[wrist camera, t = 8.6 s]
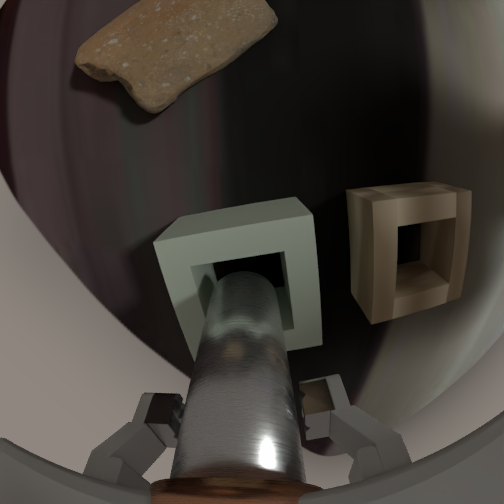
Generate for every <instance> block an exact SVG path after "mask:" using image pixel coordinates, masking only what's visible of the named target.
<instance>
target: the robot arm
mask: <svg viewBox="0 0 504 504" xmlns="http://www.w3.org/2000/svg"><path fill="white" fill-rule="evenodd" d="M299 391H300V402H301V410H302V416H303V418H304V428H305V433H306V439H307V440H310V439H316V438H322V437H328V436H329V437H330V438H331V439H332V440H333V441H334V442H335V443H336V444H337V445H338V446H339V447H341V448H342V449H343V450H344V451H345V452H346V453H347V454H348V455H350V456H351V457H352V458H353V459H354V462H353V465H352V468H351V470H350V473H349V481H350V484H347V485H343V486H338V487H334V488H330V489H325V490H319V491H314V492H308V493H305V494H303V495H302V496H301V497H300V499H299V501H298V504H504V411H503V412H501V413H500V414H499V415H497V416H496V417H494V418H493V419H492V420H490V421H489V422H487V423H486V424H484V425H483V426H481V427H479V428H478V429H476V430H475V431H473V432H472V433H470V434H468V435H467V436H465V437H463V438H461V439H460V440H458V441H456V442H454V443H453V444H451V445H449V446H447V447H445V448H443V449H441V450H439V451H437V452H435V453H433V454H431V455H429V456H426V457H424V458H422V459H420V460H418V461H415V462H413V463H412V462H411V459H410V457H409V454H408V451H407V449H406V446H405V444H404V442H403V439H402V437H401V435H400V434H399V433H397V432H395V431H394V430H392V429H390V428H389V427H387V426H386V425H384V424H382V423H381V422H379V421H378V420H376V419H374V418H373V417H371V416H370V415H368V414H367V413H365V412H364V411H362V410H361V409H359V408H357V407H356V406H350V404H349V401H348V398H347V395H346V392H345V389H344V386H343V383H342V380H341V378H340V375H339V374H336V375H331V376H327V377H321V378H317V379H312V380H307V381H301V382H299ZM182 400H183V398H182V397H181V395H180V394H172V393H171V394H169V393H144V394H143V395H142V396H141V399H140V401H139V404H138V407H137V409H136V412H135V415H134V418H133V420H132V422H128V423H127V424H126V425H124V426H123V427H122V428H121V429H120V430H118V431H117V432H116V433H115V434H113V435H112V436H110V437H109V438H108V439H107V440H105V441H104V442H103V443H101V444H100V445H99V446H98V447H96V448H95V449H94V450H92V452H91V454H90V457H89V459H88V462H87V464H86V467H85V469H84V472H83V474H81V473H78V472H75V471H73V470H70V469H67V468H64V467H62V466H60V465H57V464H55V463H53V462H50V461H48V460H46V459H44V458H42V457H39V456H37V455H35V454H33V453H31V452H29V451H27V450H25V449H23V448H22V447H20V446H17V445H16V444H14V443H13V442H11V441H9V440H7V439H5V438H0V504H151V492H150V491H149V488H150V485H151V484H150V483H149V482H148V481H147V480H145V479H144V478H143V477H142V475H143V474H144V473H145V472H146V471H147V470H148V468H149V467H150V466H151V465H152V464H153V463H154V462H155V461H156V459H157V458H158V457H159V456H160V455H161V454H162V453H163V452H164V451H165V449H166V447H171V448H176V445H177V440H178V435H179V431H180V426H181V421H182V417H183V412H184V407H185V404H183V403H182Z"/></svg>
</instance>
